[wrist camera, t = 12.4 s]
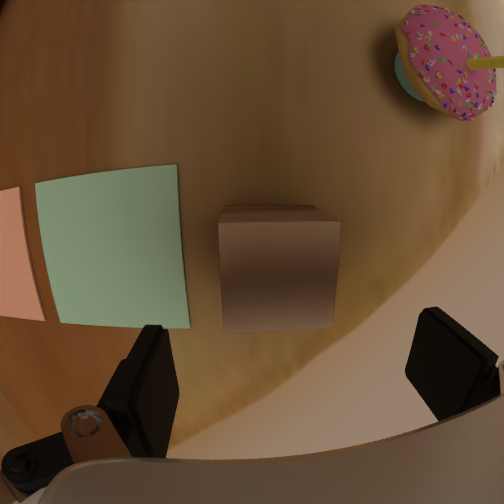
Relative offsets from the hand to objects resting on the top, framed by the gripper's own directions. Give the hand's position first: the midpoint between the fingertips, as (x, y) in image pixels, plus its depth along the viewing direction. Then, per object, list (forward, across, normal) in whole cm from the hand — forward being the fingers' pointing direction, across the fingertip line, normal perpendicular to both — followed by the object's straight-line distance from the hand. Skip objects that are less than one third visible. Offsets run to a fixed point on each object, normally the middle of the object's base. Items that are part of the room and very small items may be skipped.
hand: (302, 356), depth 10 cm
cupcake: (+11, -12, -15) cm, 22 cm away
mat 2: (+11, +12, -1) cm, 17 cm away
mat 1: (+11, +26, -1) cm, 28 cm away
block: (+12, 0, -1) cm, 12 cm away
